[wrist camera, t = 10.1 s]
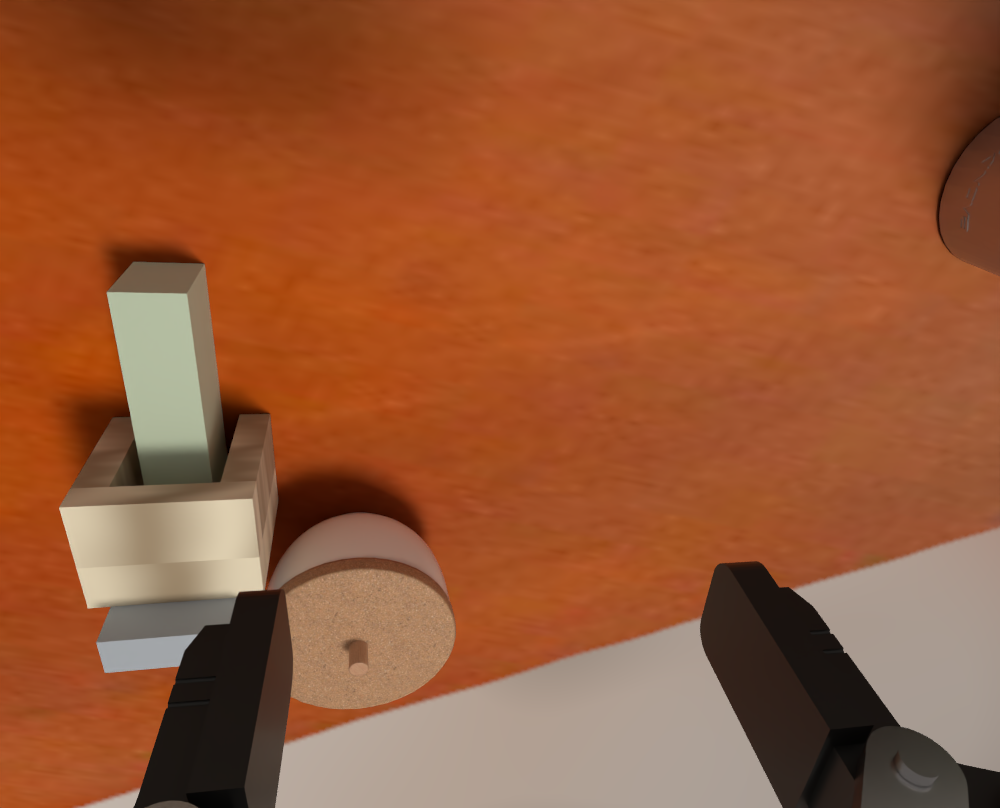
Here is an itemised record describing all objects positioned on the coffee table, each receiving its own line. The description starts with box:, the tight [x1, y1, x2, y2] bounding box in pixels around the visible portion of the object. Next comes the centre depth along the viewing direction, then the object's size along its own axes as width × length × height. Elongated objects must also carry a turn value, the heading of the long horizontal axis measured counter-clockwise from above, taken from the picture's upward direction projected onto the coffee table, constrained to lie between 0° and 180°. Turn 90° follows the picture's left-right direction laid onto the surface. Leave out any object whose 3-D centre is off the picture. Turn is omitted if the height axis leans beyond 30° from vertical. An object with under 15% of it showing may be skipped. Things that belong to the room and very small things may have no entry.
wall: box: [96, 598, 236, 673], centre depth 36 cm, size 6×2×10 cm, turn 85°
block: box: [59, 414, 278, 608], centre depth 35 cm, size 8×6×8 cm
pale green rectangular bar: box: [107, 262, 228, 485], centre depth 34 cm, size 3×12×4 cm, turn 175°
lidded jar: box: [267, 512, 456, 709], centre depth 40 cm, size 11×11×9 cm
